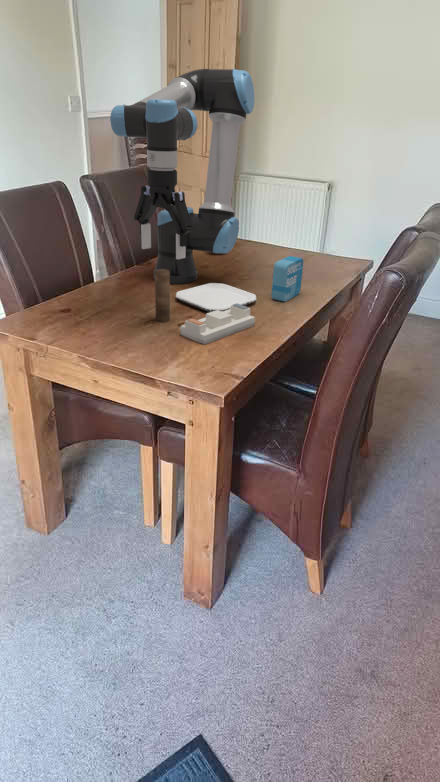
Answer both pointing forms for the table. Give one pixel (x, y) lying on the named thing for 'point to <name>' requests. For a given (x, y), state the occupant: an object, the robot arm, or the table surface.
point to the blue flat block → (287, 278)
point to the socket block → (218, 324)
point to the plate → (215, 297)
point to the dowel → (162, 295)
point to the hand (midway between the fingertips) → (163, 253)
